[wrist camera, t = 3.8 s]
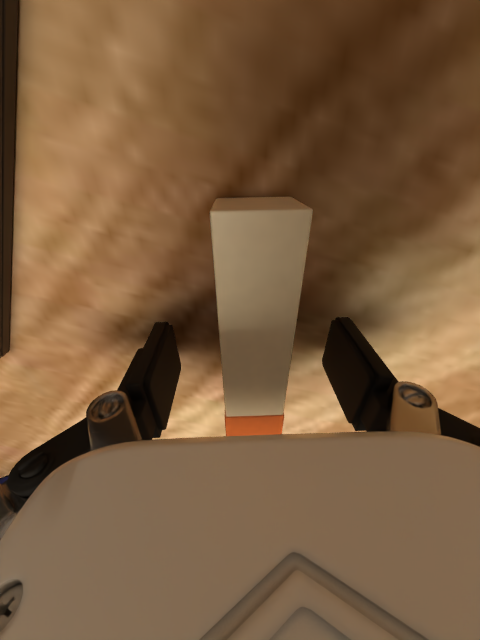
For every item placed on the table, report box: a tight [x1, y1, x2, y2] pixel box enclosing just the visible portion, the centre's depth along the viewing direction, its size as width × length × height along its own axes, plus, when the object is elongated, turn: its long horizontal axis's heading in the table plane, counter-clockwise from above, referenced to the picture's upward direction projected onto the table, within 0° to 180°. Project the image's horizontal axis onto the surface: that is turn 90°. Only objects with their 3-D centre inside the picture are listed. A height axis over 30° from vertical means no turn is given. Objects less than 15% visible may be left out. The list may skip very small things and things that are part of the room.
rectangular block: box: [210, 197, 313, 436], centre depth 12 cm, size 13×3×3 cm, turn 1°
